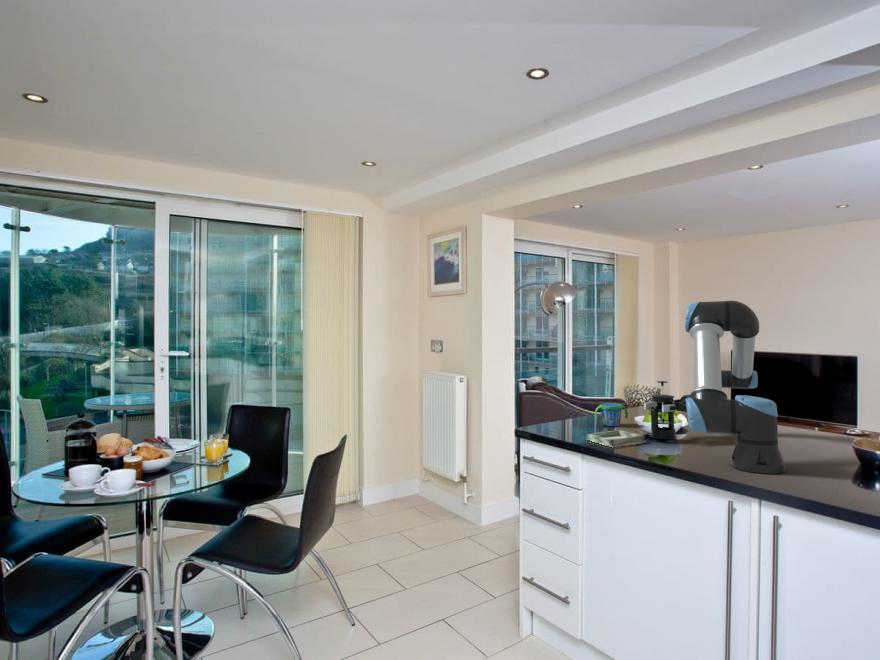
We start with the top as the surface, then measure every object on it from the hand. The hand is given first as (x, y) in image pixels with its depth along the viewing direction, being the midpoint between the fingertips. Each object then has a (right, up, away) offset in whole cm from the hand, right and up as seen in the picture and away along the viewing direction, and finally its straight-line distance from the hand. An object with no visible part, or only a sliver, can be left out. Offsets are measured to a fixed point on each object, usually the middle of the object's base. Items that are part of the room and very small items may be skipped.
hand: (653, 407), depth 208 cm
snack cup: (-5, -15, +37) cm, 40 cm away
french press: (+5, -13, +2) cm, 14 cm away
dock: (-15, -15, +2) cm, 21 cm away
